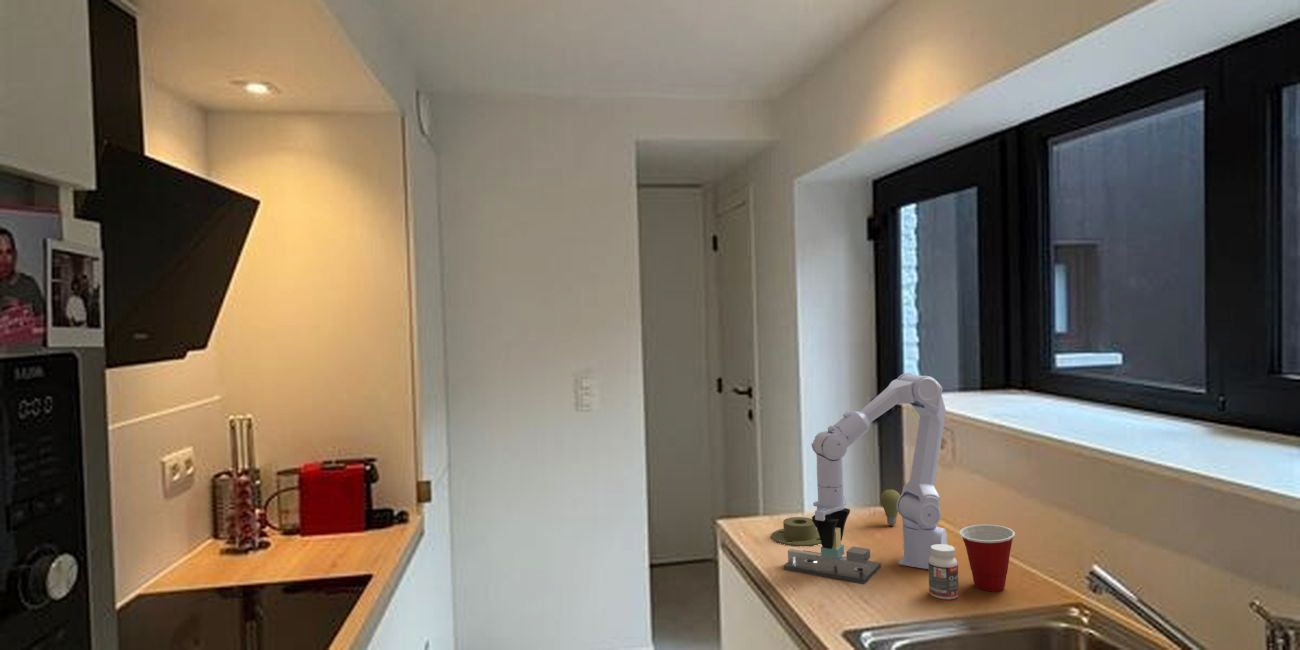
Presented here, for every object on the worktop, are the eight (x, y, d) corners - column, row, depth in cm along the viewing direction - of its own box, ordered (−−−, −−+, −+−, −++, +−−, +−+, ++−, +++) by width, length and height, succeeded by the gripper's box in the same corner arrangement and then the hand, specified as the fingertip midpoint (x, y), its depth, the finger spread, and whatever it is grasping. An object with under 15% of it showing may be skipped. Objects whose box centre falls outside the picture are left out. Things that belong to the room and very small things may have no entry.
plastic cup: (951, 579, 159) (949, 524, 159) (998, 575, 160) (997, 521, 159) (977, 598, 148) (975, 539, 148) (1027, 594, 149) (1026, 536, 149)
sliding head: (844, 564, 166) (843, 527, 166) (838, 570, 163) (837, 532, 163) (827, 562, 169) (826, 525, 168) (821, 567, 165) (820, 530, 165)
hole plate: (881, 567, 168) (880, 562, 168) (864, 584, 158) (864, 578, 158) (803, 554, 178) (803, 549, 178) (783, 569, 169) (783, 564, 169)
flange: (760, 524, 191) (811, 533, 181) (788, 510, 202) (838, 519, 192) (760, 541, 191) (812, 552, 181) (789, 527, 202) (839, 536, 193)
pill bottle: (956, 602, 146) (954, 553, 146) (926, 597, 149) (925, 549, 149) (961, 592, 151) (959, 545, 151) (932, 587, 154) (930, 541, 154)
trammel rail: (872, 571, 163) (872, 549, 163) (867, 576, 159) (866, 554, 159) (793, 557, 173) (792, 537, 173) (786, 562, 170) (786, 541, 170)
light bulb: (882, 528, 197) (881, 492, 196) (879, 522, 202) (878, 487, 202) (904, 528, 196) (903, 492, 195) (900, 522, 201) (899, 487, 201)
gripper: (825, 476, 174) (826, 533, 174) (801, 490, 162) (803, 550, 162) (853, 479, 170) (855, 537, 170) (831, 493, 158) (833, 555, 158)
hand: (832, 544), depth 166 cm, fingers open, 5 cm apart
